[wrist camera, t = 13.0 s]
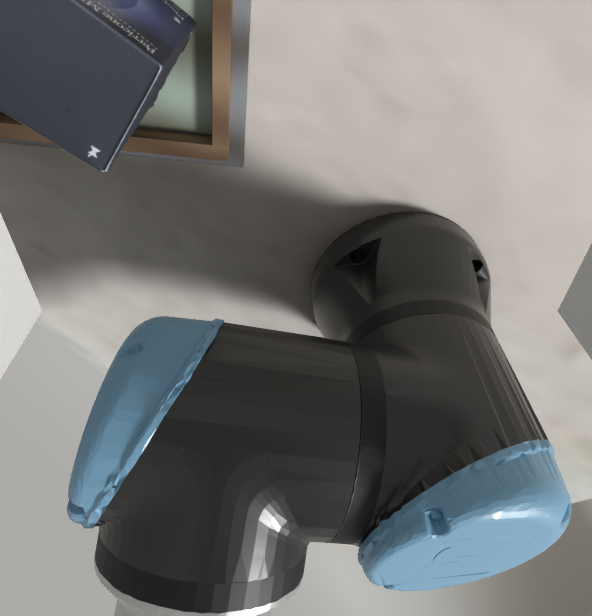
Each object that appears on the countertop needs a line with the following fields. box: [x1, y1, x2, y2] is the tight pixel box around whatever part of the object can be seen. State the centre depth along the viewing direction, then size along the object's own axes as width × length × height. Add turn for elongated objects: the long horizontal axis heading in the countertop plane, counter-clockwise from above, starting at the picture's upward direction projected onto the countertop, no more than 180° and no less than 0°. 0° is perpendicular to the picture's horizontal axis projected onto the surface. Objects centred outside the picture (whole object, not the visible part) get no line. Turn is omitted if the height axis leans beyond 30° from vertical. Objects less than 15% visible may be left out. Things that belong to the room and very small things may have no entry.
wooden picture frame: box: [0, 0, 251, 167], centre depth 26 cm, size 18×18×2 cm
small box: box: [0, 0, 196, 172], centre depth 23 cm, size 11×6×10 cm, turn 52°
